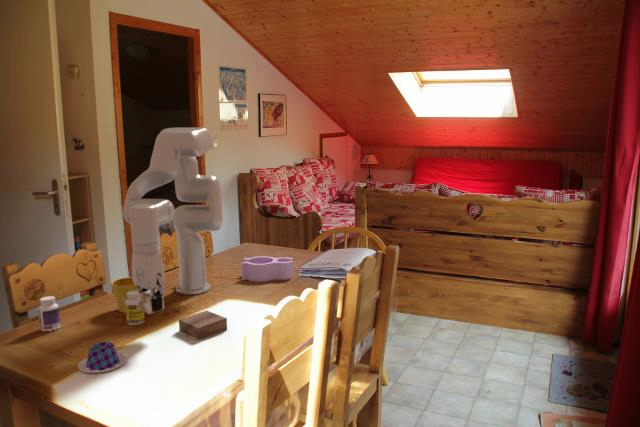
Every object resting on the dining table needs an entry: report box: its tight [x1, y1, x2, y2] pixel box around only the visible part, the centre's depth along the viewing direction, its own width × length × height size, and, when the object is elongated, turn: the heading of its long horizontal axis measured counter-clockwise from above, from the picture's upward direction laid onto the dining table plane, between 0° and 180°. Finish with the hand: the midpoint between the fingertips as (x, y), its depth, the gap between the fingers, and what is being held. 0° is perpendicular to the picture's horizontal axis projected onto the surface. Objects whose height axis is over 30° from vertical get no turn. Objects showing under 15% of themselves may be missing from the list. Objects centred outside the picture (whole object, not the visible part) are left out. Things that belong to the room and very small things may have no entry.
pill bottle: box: [37, 295, 61, 332], centre depth 160 cm, size 5×5×10 cm
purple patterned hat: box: [77, 341, 128, 374], centre depth 137 cm, size 12×12×5 cm
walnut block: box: [178, 310, 228, 341], centre depth 158 cm, size 10×10×4 cm
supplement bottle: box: [125, 290, 145, 326], centre depth 165 cm, size 5×5×10 cm
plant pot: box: [110, 276, 139, 314], centre depth 176 cm, size 10×10×10 cm
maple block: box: [138, 289, 165, 315], centre depth 153 cm, size 5×5×5 cm
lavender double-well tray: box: [240, 255, 294, 283], centre depth 211 cm, size 20×12×7 cm, turn 90°
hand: (151, 307), depth 154 cm, fingers closed on maple block, 5 cm apart
